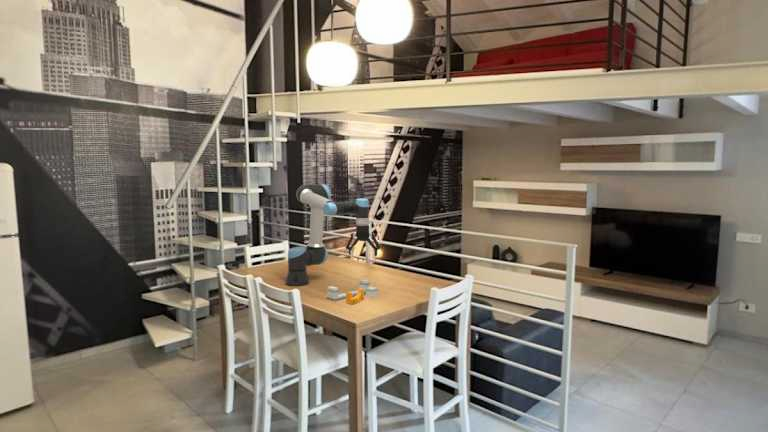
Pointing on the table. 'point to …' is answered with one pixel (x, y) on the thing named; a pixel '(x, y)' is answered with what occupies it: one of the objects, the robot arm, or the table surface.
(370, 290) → the module
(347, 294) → the orange irregular piece
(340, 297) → the din board
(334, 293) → the module
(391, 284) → the table surface
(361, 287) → the module
